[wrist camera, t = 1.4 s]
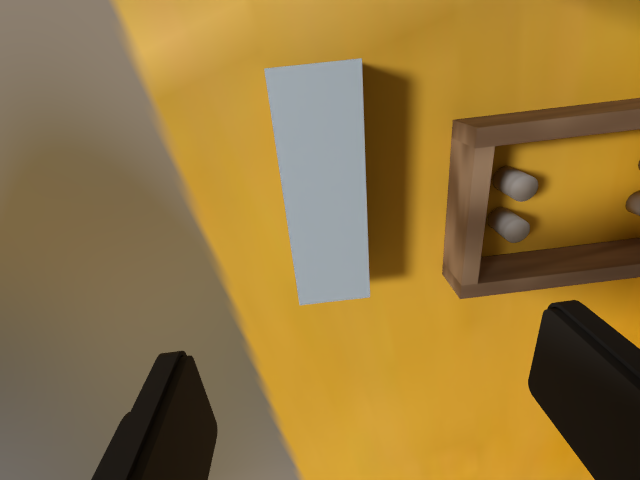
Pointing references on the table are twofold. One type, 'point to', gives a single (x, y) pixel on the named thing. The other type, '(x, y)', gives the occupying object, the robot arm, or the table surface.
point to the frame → (473, 191)
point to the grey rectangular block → (323, 175)
